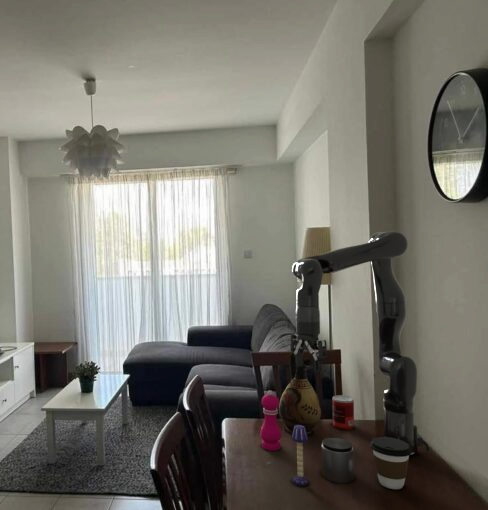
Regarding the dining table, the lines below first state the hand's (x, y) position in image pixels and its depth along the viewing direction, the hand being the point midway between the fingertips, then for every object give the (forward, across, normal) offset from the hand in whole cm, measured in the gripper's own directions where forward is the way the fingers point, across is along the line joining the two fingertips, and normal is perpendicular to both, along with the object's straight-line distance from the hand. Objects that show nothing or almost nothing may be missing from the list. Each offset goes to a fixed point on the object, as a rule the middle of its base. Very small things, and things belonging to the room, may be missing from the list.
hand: (308, 368), depth 152 cm
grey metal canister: (+30, -12, 0) cm, 32 cm away
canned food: (+30, +18, -33) cm, 48 cm away
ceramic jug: (+30, +22, -15) cm, 41 cm away
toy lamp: (+30, -10, +12) cm, 34 cm away
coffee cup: (+30, -22, -10) cm, 39 cm away
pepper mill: (+30, +14, +4) cm, 34 cm away
